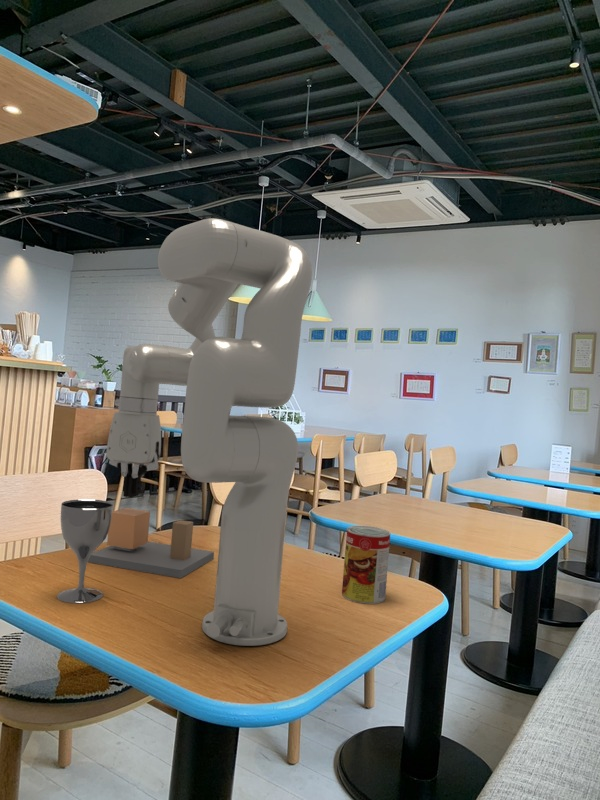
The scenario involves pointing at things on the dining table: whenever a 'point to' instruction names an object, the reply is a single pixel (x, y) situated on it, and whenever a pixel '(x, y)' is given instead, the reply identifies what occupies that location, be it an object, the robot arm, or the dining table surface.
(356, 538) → the canned food
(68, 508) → the wine glass
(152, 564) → the post stand
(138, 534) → the tan cardboard box
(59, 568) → the dining table surface
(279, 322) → the robot arm
